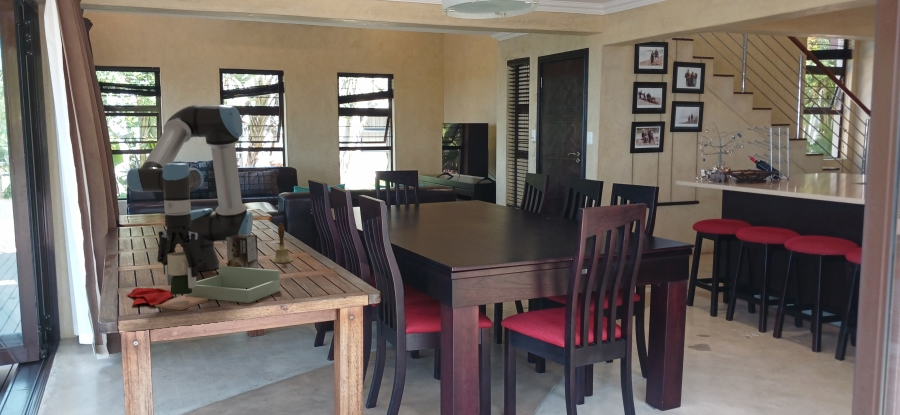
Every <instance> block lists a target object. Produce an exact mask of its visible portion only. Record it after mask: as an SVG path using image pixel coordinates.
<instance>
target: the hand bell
mask: <svg viewBox="0 0 900 415" xmlns="http://www.w3.org/2000/svg"><path fill="white" fill-rule="evenodd" d="M277 233H278V237H279V247H277V248H276V251H275V255H274V256H275V257H274V258H273V259H272V261H271V262H272V263H274V264H285V263H292V262H293V261H294V260H293V258H291V256H290V255H289V251H288V247H286V246H285V243H284V242H285V241H284V237H285V226H284V223H282V222H280V223H278V227H277Z"/></svg>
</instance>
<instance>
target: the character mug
mask: <svg viewBox="0 0 900 415" xmlns="http://www.w3.org/2000/svg"><path fill="white" fill-rule="evenodd" d="M167 257H168V274H169V275H173V277H172V280H171V285H170V291H171V292H170V294H172V295H173V296H175V295H176V296H177V295H180V296H184V295H187V294H190V293H192V288H189V287H188V266H190V265H189V262H188V260H187V257H186V255H185V252H182V251H176V252H175V251H174V253H169V254H168V255H167Z"/></svg>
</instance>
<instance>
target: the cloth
mask: <svg viewBox="0 0 900 415" xmlns="http://www.w3.org/2000/svg"><path fill="white" fill-rule="evenodd" d="M170 292H171V290H169V289H167V290H166V289H163V288H158V287H157V288H153V287H145V288H144V287H136V288H133V289H132V291H131V292H130V293H129V294H126V296H127V297H131V298H136V299H135V300H134V301H133V302H132V305H134V306H136V305H139V304H141V305H142V304H149V305H150V306H155V305H156V304H159V303H162V302H164V301H167V300H170V298H172V297H173V296H174V295H172V294H170Z"/></svg>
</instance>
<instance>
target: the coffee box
mask: <svg viewBox="0 0 900 415" xmlns="http://www.w3.org/2000/svg"><path fill="white" fill-rule="evenodd" d="M226 240H227V242H226V254H227V259H226V260H227V266H230V267H243V268H255V269H259V253H258V235H257V234H251V235H244V234H235V235H232V236H228V237H226Z"/></svg>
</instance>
